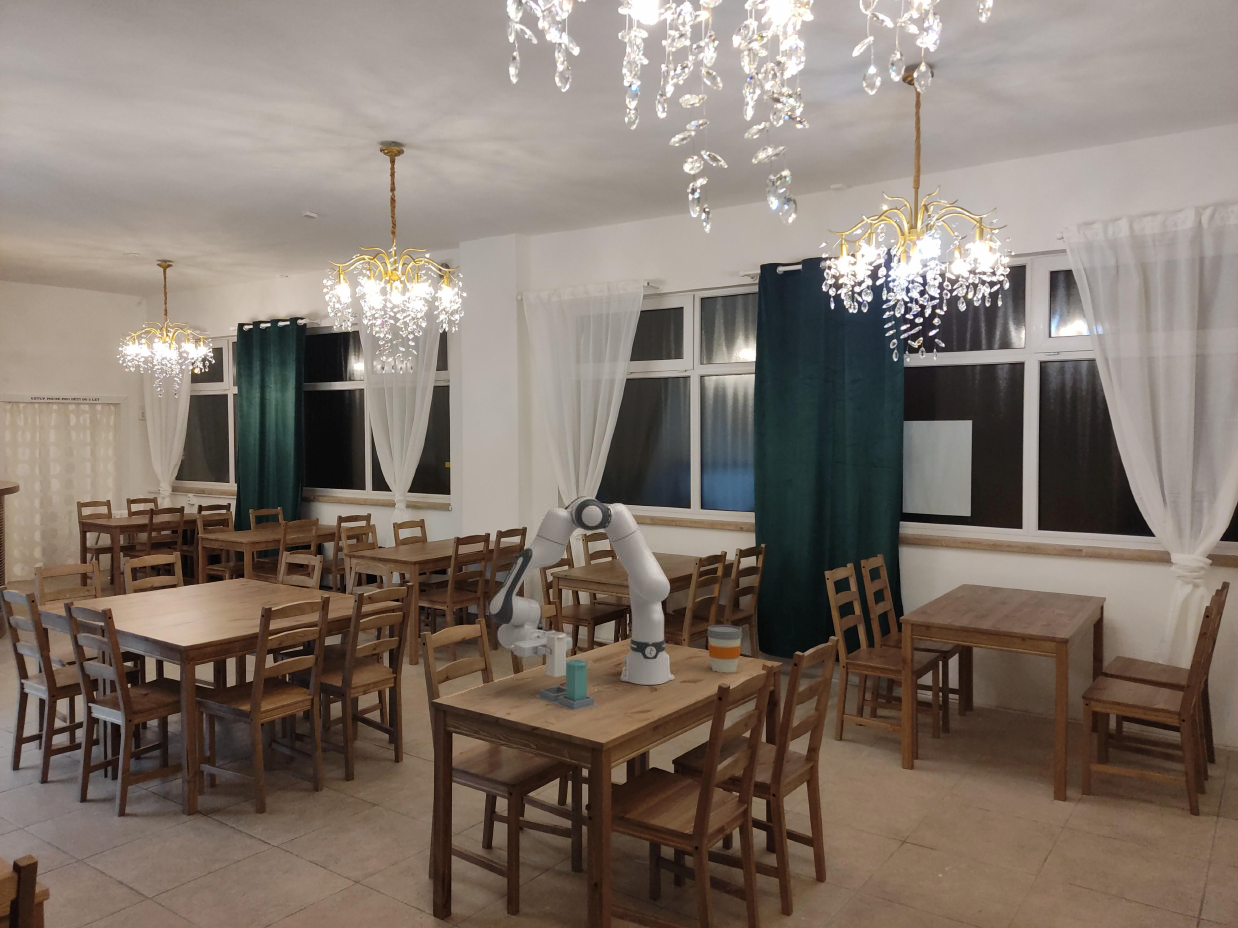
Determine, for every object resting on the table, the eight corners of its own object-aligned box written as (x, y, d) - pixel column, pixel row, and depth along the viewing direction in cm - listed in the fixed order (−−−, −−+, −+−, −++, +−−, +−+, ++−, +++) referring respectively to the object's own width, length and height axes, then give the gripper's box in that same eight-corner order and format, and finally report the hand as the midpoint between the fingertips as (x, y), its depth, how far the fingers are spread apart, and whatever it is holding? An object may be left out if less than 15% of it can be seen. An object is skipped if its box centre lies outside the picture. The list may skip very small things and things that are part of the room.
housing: (534, 700, 279) (534, 689, 278) (559, 694, 285) (559, 684, 285) (573, 715, 264) (573, 704, 263) (599, 709, 270) (599, 697, 270)
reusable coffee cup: (743, 666, 323) (744, 625, 323) (739, 675, 311) (740, 632, 311) (709, 663, 326) (710, 623, 326) (704, 672, 314) (704, 630, 314)
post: (543, 674, 278) (544, 633, 278) (557, 671, 282) (558, 631, 282) (554, 677, 274) (554, 636, 274) (568, 675, 278) (568, 634, 277)
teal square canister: (563, 703, 271) (563, 661, 270) (577, 699, 275) (577, 658, 274) (574, 707, 267) (575, 665, 266) (589, 704, 270) (589, 662, 270)
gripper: (505, 637, 280) (531, 645, 270) (556, 629, 294) (582, 636, 284) (505, 657, 281) (530, 665, 270) (556, 647, 294) (582, 655, 284)
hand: (558, 650), depth 277 cm, fingers closed on post, 4 cm apart
